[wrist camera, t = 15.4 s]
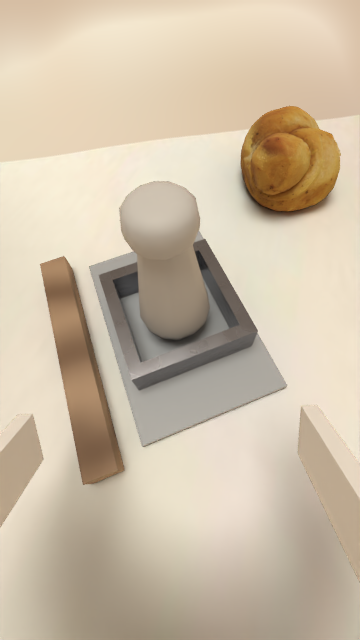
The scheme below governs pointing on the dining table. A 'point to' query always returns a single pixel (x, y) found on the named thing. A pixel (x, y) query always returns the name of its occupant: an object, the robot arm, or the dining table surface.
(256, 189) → the bread roll
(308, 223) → the dining table surface
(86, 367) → the door-edge bar
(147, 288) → the salt shaker
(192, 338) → the keeper plate
